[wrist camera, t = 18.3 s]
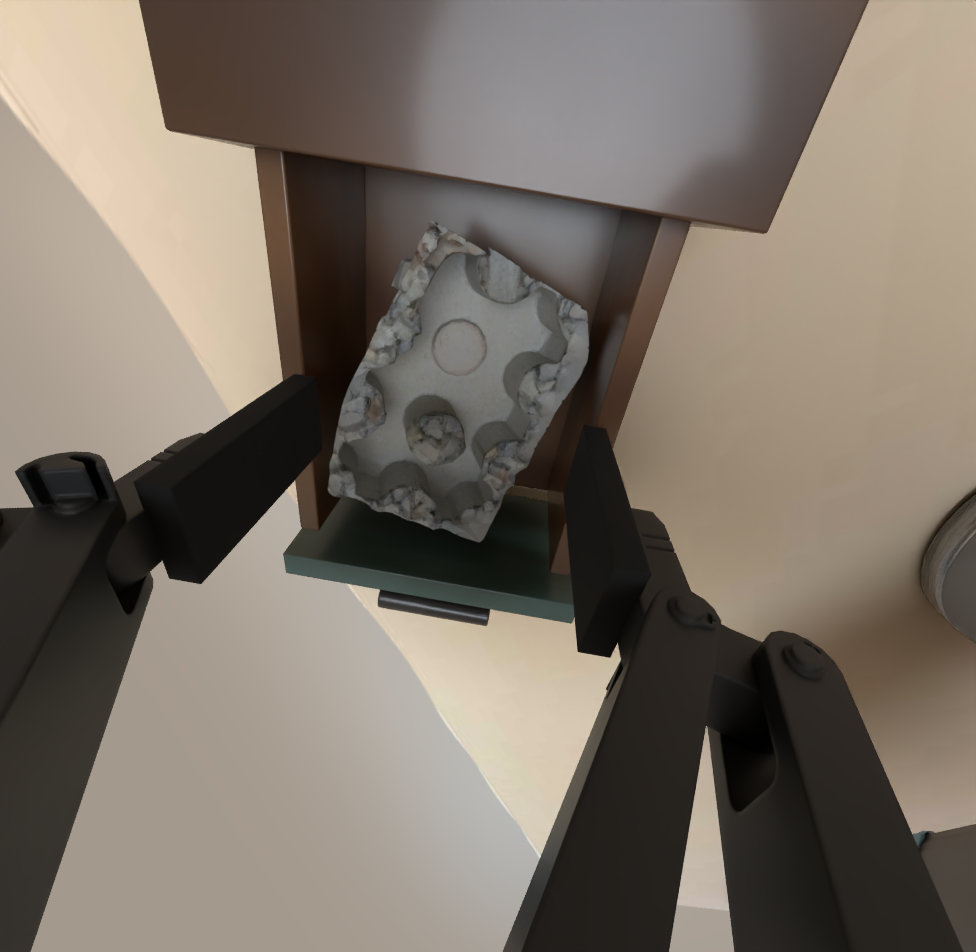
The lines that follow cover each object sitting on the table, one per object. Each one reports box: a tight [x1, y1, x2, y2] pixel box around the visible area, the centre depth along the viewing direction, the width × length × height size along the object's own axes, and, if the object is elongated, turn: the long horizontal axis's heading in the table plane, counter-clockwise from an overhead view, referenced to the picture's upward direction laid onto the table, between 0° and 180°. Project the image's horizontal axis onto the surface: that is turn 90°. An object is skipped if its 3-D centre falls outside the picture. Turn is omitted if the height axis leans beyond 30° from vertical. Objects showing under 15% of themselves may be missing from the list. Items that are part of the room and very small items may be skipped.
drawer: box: [254, 147, 691, 626], centre depth 18 cm, size 22×13×8 cm, turn 172°
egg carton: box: [328, 221, 589, 542], centre depth 17 cm, size 11×8×4 cm
